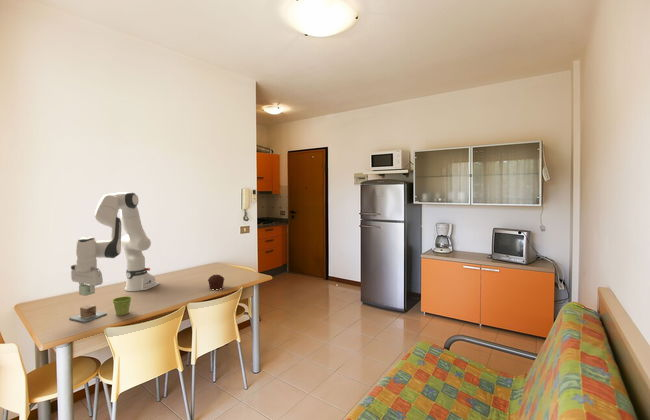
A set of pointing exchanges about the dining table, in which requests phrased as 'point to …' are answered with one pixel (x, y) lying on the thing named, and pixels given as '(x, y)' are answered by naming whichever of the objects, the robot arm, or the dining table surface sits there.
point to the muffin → (216, 282)
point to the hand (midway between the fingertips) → (87, 291)
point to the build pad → (84, 319)
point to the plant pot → (122, 305)
